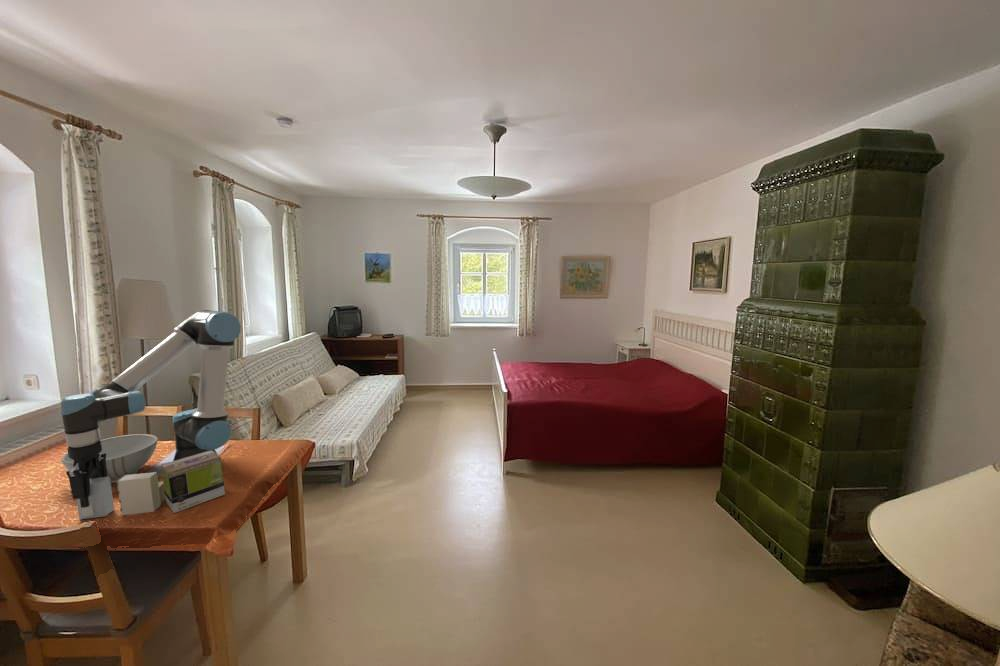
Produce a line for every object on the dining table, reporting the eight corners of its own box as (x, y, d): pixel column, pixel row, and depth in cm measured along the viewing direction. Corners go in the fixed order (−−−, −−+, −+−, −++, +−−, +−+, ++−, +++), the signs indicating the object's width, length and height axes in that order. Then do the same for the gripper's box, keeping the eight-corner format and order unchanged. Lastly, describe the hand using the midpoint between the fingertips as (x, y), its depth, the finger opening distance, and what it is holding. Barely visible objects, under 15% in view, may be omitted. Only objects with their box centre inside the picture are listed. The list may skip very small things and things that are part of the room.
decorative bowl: (103, 498, 140) (98, 466, 139) (45, 490, 146) (40, 459, 144) (178, 464, 166) (174, 436, 165) (127, 458, 172) (123, 431, 170)
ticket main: (139, 500, 139) (134, 467, 138) (169, 497, 141) (165, 464, 140) (121, 515, 130) (116, 480, 129) (153, 511, 133) (149, 477, 131)
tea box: (216, 486, 149) (212, 448, 147) (225, 495, 143) (221, 456, 141) (165, 503, 137) (160, 463, 135) (172, 514, 131) (167, 472, 129)
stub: (88, 512, 132) (83, 478, 130) (114, 509, 133) (109, 476, 132) (79, 519, 128) (74, 485, 126) (105, 516, 130) (100, 482, 128)
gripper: (89, 433, 134) (99, 498, 138) (46, 455, 118) (58, 528, 121) (116, 431, 136) (125, 495, 139) (77, 453, 120) (88, 524, 123)
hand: (94, 510), depth 130 cm, fingers closed on stub, 4 cm apart
